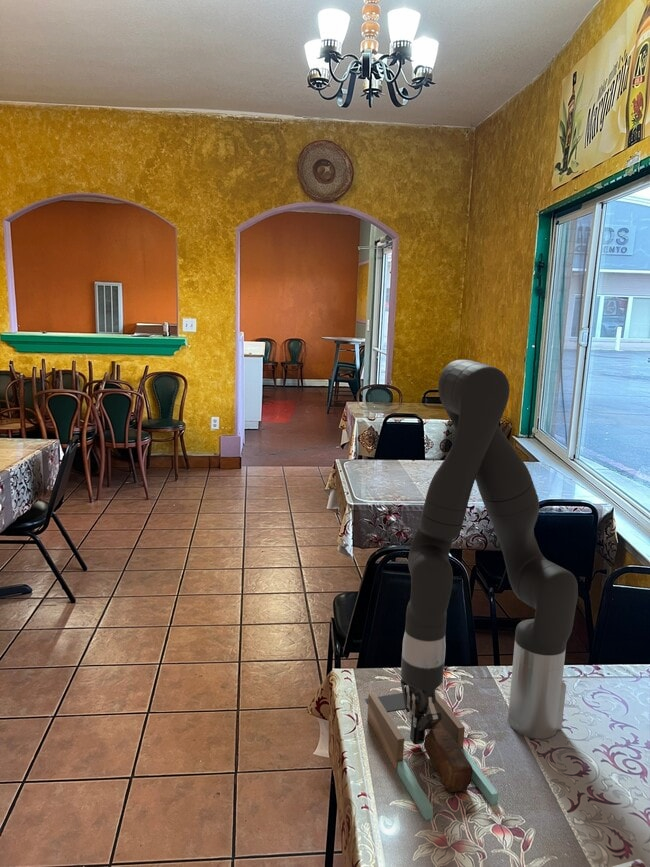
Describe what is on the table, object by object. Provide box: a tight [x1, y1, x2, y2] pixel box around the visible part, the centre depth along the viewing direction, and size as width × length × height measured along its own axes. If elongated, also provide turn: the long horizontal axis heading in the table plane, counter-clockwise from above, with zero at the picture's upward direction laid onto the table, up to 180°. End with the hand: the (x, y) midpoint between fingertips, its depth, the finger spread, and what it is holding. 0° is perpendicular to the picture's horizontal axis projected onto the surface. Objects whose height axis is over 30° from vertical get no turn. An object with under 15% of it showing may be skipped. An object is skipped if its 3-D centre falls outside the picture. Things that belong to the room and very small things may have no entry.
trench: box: [366, 690, 466, 771], centre depth 119 cm, size 13×14×6 cm
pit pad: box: [364, 692, 406, 713], centre depth 130 cm, size 10×5×1 cm, turn 107°
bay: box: [396, 748, 499, 821], centre depth 107 cm, size 13×11×2 cm
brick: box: [423, 728, 473, 793], centre depth 110 cm, size 11×4×5 cm, turn 15°
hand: (416, 741), depth 117 cm, fingers closed
